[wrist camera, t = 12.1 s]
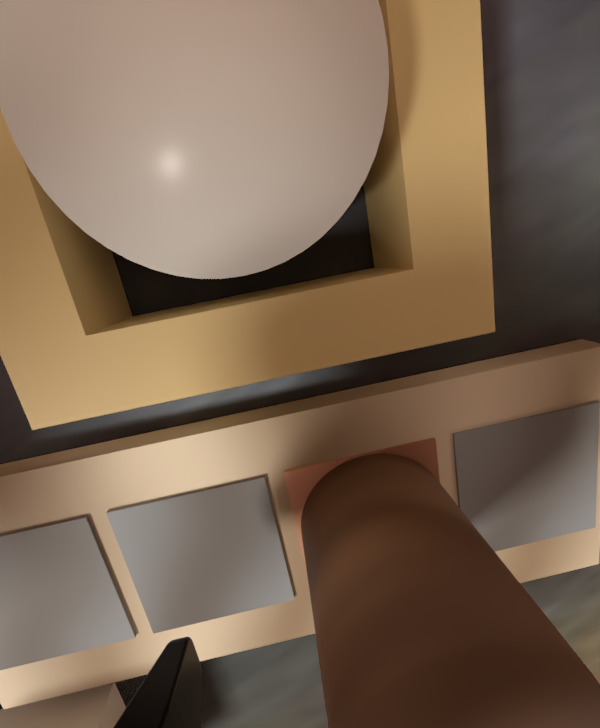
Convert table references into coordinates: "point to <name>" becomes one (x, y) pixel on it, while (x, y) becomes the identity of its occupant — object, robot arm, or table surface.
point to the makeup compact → (276, 512)
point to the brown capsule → (427, 612)
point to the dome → (197, 121)
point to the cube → (69, 710)
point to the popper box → (281, 304)
